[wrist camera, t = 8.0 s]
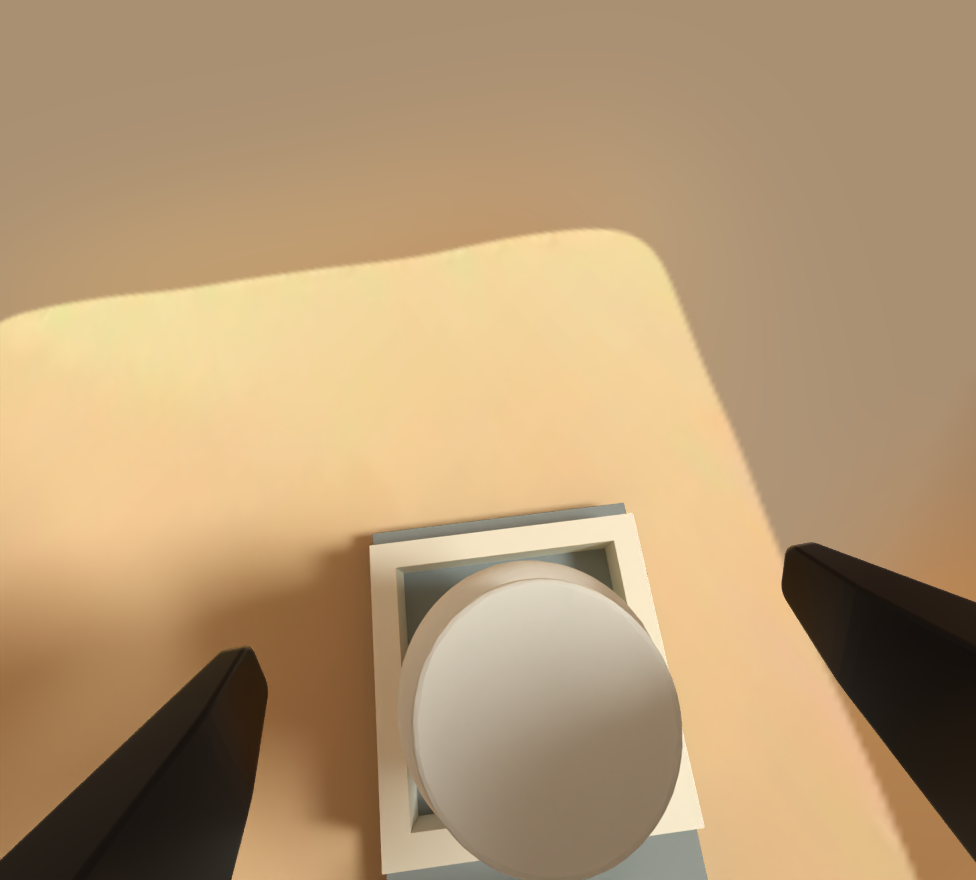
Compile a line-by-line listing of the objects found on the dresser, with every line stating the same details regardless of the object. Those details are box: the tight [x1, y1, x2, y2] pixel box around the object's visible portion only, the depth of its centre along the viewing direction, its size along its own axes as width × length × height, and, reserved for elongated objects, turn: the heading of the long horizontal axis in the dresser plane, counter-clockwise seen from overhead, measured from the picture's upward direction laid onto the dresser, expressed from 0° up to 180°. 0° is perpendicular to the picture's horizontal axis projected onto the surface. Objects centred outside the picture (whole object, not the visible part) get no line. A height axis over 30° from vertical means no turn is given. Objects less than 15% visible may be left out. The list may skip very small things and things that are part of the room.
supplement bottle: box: [397, 560, 683, 880], centre depth 12 cm, size 5×5×10 cm
